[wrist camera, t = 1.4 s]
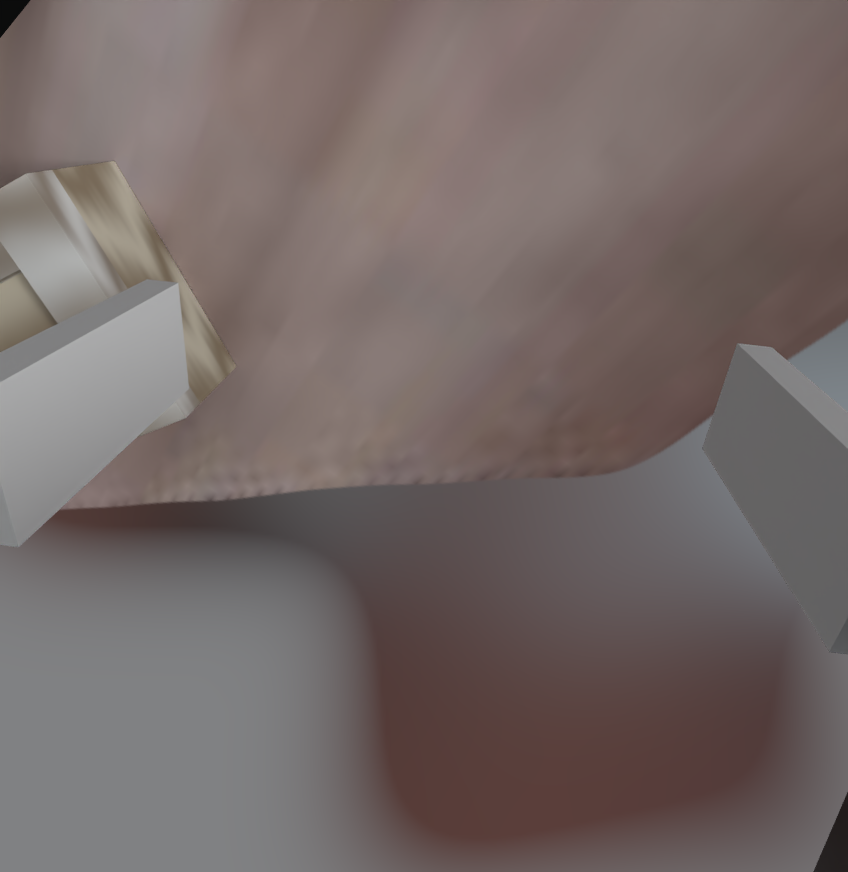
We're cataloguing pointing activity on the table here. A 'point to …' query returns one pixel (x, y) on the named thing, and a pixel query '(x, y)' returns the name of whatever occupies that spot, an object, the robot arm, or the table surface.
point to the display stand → (92, 265)
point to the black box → (10, 12)
